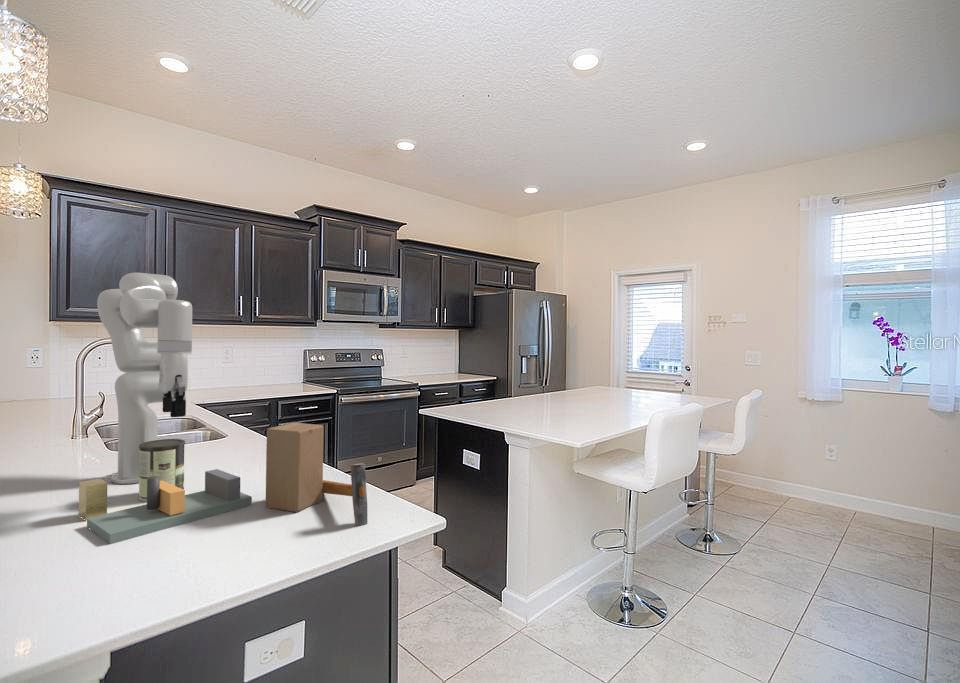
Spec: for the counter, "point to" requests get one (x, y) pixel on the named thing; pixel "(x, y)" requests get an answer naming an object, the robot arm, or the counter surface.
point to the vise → (140, 521)
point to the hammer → (352, 492)
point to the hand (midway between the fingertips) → (173, 414)
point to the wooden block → (294, 466)
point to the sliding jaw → (164, 496)
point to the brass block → (92, 498)
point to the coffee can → (161, 463)
